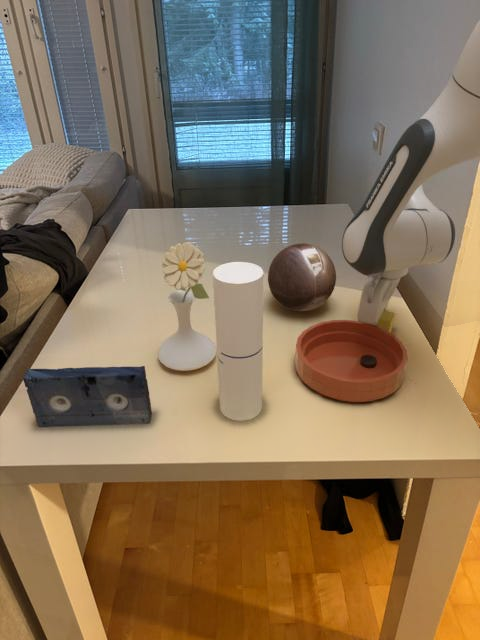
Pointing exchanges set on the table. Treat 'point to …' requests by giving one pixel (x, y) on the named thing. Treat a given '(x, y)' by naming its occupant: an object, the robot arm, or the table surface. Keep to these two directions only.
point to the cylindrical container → (239, 338)
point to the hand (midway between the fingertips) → (375, 321)
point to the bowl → (350, 360)
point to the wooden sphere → (302, 277)
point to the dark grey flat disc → (368, 361)
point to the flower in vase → (185, 310)
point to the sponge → (386, 320)
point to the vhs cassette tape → (89, 396)
